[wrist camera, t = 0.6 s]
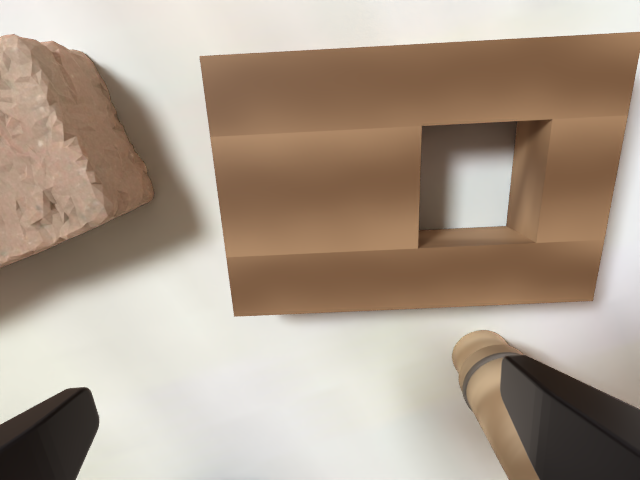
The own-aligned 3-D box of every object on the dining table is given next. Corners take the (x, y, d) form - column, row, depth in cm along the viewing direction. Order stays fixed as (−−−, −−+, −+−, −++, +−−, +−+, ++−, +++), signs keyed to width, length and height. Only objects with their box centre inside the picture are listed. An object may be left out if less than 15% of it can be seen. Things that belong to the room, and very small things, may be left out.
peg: (510, 381, 24) (600, 504, 16) (443, 384, 24) (502, 508, 16) (517, 322, 22) (619, 426, 15) (447, 325, 22) (512, 430, 15)
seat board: (556, 277, 22) (592, 300, 19) (245, 291, 22) (234, 316, 19) (591, 46, 18) (643, 31, 15) (218, 66, 18) (199, 56, 15)
